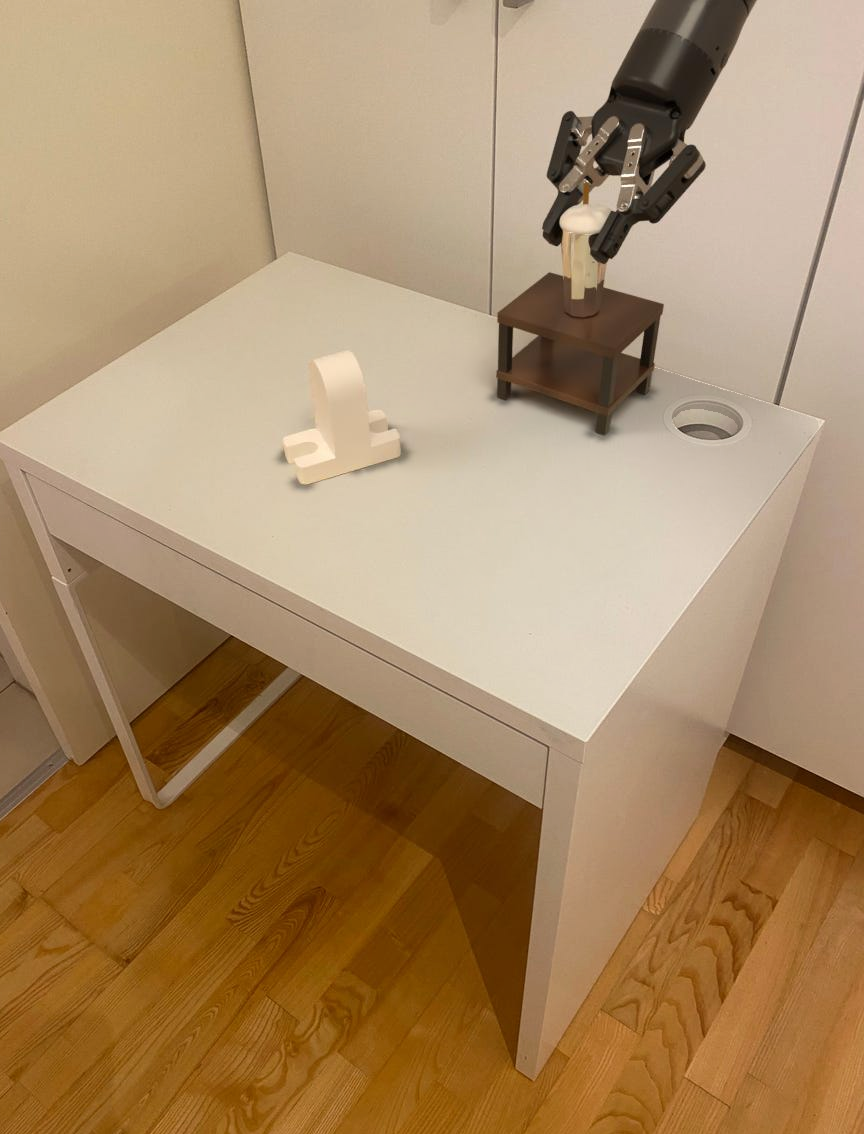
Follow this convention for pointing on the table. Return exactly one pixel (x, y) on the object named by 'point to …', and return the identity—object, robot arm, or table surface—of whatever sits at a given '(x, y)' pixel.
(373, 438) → the cream mounting bracket
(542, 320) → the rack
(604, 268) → the milkshake
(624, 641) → the table surface
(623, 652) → the table surface
